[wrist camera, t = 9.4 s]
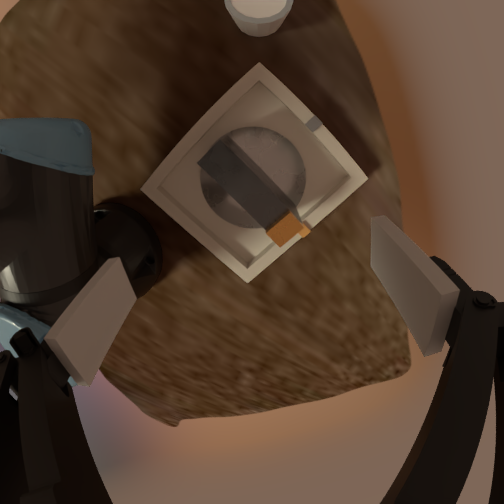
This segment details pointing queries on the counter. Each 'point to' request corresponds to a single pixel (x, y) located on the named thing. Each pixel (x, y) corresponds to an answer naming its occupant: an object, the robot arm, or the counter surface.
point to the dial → (255, 181)
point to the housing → (247, 115)
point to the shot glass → (258, 15)
